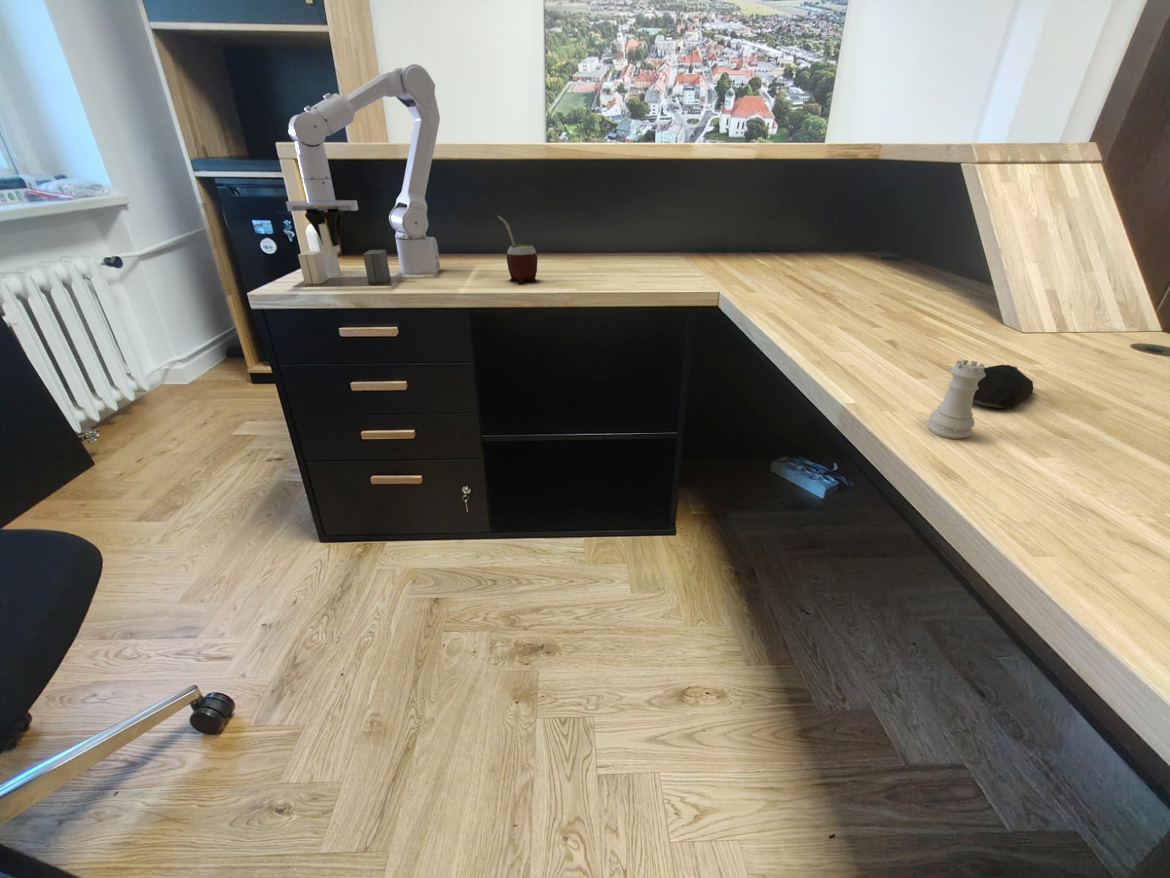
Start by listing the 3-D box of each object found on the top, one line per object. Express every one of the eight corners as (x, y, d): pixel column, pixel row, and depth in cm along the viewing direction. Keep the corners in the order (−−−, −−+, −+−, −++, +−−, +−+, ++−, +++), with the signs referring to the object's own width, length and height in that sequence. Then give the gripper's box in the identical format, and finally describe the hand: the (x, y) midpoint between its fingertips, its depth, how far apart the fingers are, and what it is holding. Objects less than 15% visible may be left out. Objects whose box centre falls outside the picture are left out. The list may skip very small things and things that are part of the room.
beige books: (328, 279, 131) (321, 250, 127) (320, 284, 126) (313, 254, 123) (313, 279, 130) (306, 250, 127) (304, 284, 126) (297, 254, 123)
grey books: (390, 278, 131) (385, 249, 128) (384, 283, 127) (379, 253, 123) (374, 278, 131) (369, 250, 128) (368, 283, 126) (362, 253, 123)
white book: (340, 251, 128) (334, 221, 125) (332, 255, 123) (325, 224, 120) (333, 251, 128) (326, 221, 125) (325, 255, 123) (318, 224, 120)
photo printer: (313, 273, 140) (301, 221, 134) (330, 271, 143) (319, 220, 137) (326, 280, 133) (313, 225, 127) (344, 277, 136) (332, 224, 130)
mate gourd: (541, 278, 133) (538, 211, 126) (533, 286, 126) (530, 215, 119) (511, 277, 134) (506, 211, 127) (502, 285, 127) (496, 215, 120)
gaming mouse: (1049, 387, 73) (1061, 358, 71) (1001, 416, 66) (1014, 385, 64) (996, 373, 78) (1006, 345, 76) (946, 399, 70) (955, 369, 68)
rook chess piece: (921, 420, 65) (941, 355, 61) (964, 424, 64) (988, 358, 60) (930, 437, 61) (952, 369, 57) (976, 442, 60) (1002, 373, 56)
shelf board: (402, 279, 134) (402, 276, 133) (391, 289, 125) (390, 285, 124) (310, 280, 133) (309, 277, 133) (292, 290, 124) (291, 287, 124)
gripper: (273, 180, 114) (290, 248, 121) (344, 179, 115) (357, 247, 121) (288, 178, 121) (303, 243, 127) (355, 177, 121) (367, 242, 128)
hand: (331, 245), depth 125 cm, fingers closed on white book, 1 cm apart
